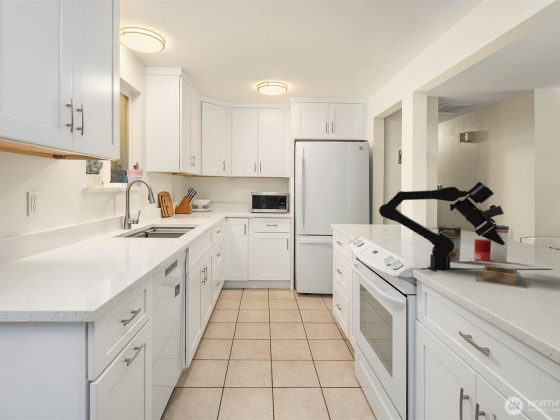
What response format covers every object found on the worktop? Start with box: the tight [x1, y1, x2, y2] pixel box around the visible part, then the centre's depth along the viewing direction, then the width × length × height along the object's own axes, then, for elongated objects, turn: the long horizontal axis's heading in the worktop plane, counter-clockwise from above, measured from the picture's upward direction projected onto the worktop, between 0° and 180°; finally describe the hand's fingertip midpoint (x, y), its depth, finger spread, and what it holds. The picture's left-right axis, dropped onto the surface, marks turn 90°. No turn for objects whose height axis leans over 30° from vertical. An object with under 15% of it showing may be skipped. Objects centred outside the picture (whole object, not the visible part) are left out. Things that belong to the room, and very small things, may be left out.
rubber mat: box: [475, 266, 528, 289], centre depth 113 cm, size 24×14×1 cm, turn 148°
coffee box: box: [437, 225, 462, 264], centre depth 140 cm, size 9×6×16 cm
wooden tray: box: [482, 265, 518, 286], centre depth 109 cm, size 10×10×4 cm
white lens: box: [490, 224, 510, 263], centre depth 115 cm, size 5×5×13 cm
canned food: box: [473, 236, 496, 263], centre depth 141 cm, size 8×8×11 cm
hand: (504, 243), depth 114 cm, fingers closed on white lens, 5 cm apart
